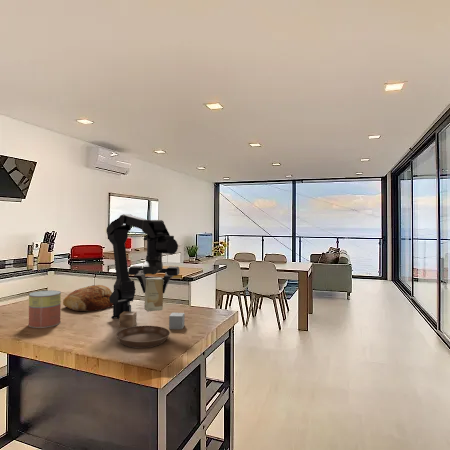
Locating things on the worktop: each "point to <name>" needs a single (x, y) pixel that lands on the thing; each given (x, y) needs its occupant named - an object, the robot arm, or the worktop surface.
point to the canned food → (44, 309)
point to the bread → (89, 298)
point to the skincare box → (153, 294)
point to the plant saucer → (143, 336)
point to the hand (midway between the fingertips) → (154, 293)
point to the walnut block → (127, 319)
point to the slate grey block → (176, 320)
